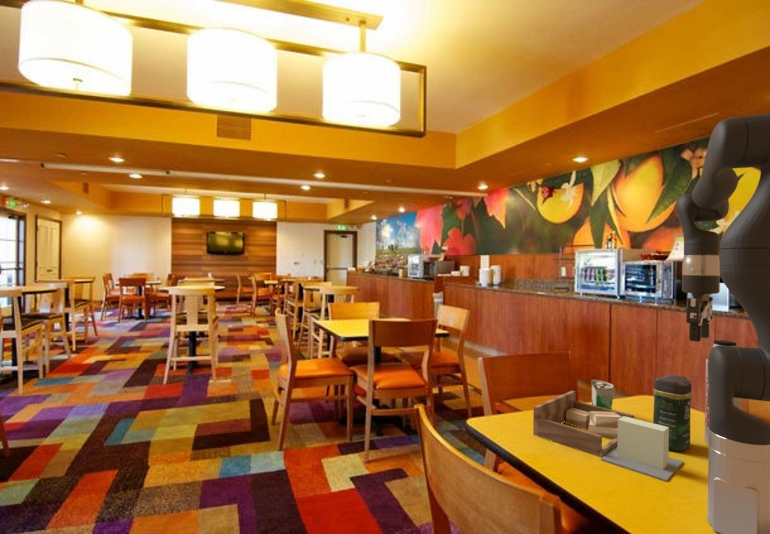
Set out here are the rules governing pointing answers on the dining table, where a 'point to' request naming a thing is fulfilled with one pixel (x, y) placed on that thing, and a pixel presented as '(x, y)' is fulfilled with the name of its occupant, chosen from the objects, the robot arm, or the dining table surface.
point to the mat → (643, 466)
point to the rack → (551, 428)
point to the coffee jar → (673, 409)
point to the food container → (602, 394)
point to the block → (643, 442)
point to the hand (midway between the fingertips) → (699, 339)
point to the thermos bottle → (736, 401)
